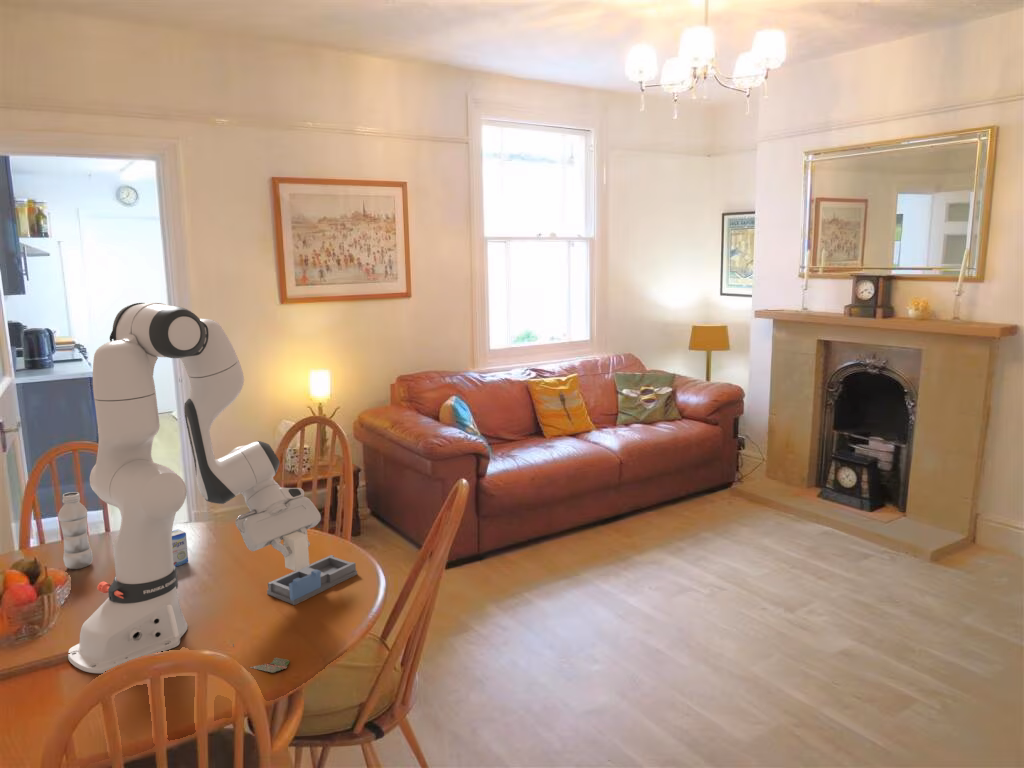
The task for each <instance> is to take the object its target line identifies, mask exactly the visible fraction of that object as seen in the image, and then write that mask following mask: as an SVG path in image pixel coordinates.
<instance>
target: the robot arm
mask: <svg viewBox="0 0 1024 768" xmlns="http://www.w3.org/2000/svg"><path fill="white" fill-rule="evenodd" d="M93 355H94V356H93V363H92V364H93V365H92V389H93V398H94V399H93V400H94V406H95V413H96V414H95V415H96V423H97V430H98V431H97V432H98V445H97V453H96V454H97V455H96V461H95V464H94V466H93V467H92V468H91V471H90V474H89V486H90V488H91V489H92V491H93V492H94V493H95V495H96V496H97V497H98V498H99V499H100V500H101V501H103V502H104V503H105V504H108V505H110V506H113V507H116V508H117V509H118V510H119V512H120V516H121V519H120V520H121V521H120V528H119V532H118V535H117V536H115V539H114V540H113V543H112V553H113V563H114V571H115V576H114V578H113V581H112V583H108V582H106V581H101V582H99V583H98V585H96V589H97V591H99V592H101V593H102V594H107V593H108V597H107V598H106V599H105V601H103V603H101V605H100V606H98V608H97V609H96V610H95V611H94V612H93V613H92V614H91V615H90V616H89V617H88V618H87V619H86V620H85V621H84V622H83V624H82V626H81V627H80V633H79V643H77V644H75V645H73V646H72V647H70V648H69V649H68V652H67V659H68V661H69V662H70V664H72V665H73V666H74V667H75V668H77V669H78V670H81V671H83V672H86V673H90V674H105V673H106V672H105V671H107V670H109V669H111V668H113V667H115V666H117V665H120V664H122V663H125V662H127V661H129V660H132V659H135V658H138V657H141V656H144V655H148V654H152V653H156V652H160V653H162V652H161V651H163V652H166V651H168V650H171V649H174V648H176V647H178V646H179V645H180V644H181V638H182V637H183V636H184V634H185V633H186V632H187V630H188V626H189V625H188V623H187V621H186V619H185V617H184V614H183V610H182V607H181V603H180V599H179V596H178V595H179V594H178V590H177V589H178V587H179V583H178V571H177V567H175V565H174V562H173V549H172V531H173V527H174V521H175V517H176V514H177V513H178V512H179V511H180V509H181V508H182V507H183V505H184V503H185V500H186V498H187V492H188V491H187V486H186V483H185V481H184V479H183V478H182V477H181V476H180V475H179V474H178V473H177V472H175V471H174V470H172V469H171V468H170V467H168V466H166V465H162V464H159V463H156V462H154V461H153V457H152V450H153V449H152V448H153V442H154V438H155V436H156V435H157V434H158V432H159V431H160V427H161V424H160V418H159V409H158V401H157V393H156V385H155V380H154V371H155V370H154V369H155V365H156V363H157V361H158V359H159V358H167V359H168V358H170V359H180V360H181V362H182V363H183V365H184V368H185V371H186V373H187V376H188V378H189V381H190V382H189V383H190V393H189V397H188V399H187V400H186V401H185V402H184V407H183V409H184V410H183V411H184V418H185V425H186V429H187V435H188V439H189V445H190V448H191V453H192V457H193V463H194V468H195V475H196V484H197V489H198V491H199V493H200V495H201V496H202V497H203V498H204V500H205V501H206V502H209V503H213V504H218V505H225V504H226V503H228V502H229V501H231V500H233V498H235V497H236V496H238V495H240V494H241V495H242V496H243V499H244V502H245V504H246V506H247V508H248V509H249V511H247V512H245V513H241V514H240V515H238V516H237V518H236V519H235V521H234V522H235V523H234V524H235V526H236V528H237V530H238V531H239V532H240V534H241V537H242V540H243V542H244V544H245V546H246V548H247V549H248V550H249V551H250V552H256V551H259V550H260V549H263V548H265V547H268V546H270V545H271V546H272V548H273V549H275V550H276V551H278V552H280V553H281V554H282V555H283V558H285V557H287V556H289V555H291V554H292V550H291V549H290V547H289V546H288V547H285V546H284V544H283V543H282V541H283V536H285V535H288V534H290V533H293V532H295V531H298V532H301V533H304V534H307V535H308V530H309V529H312V528H314V527H316V526H317V525H318V524H319V523H320V521H321V519H322V517H321V513H320V511H319V510H318V508H317V507H316V506H315V504H314V503H313V502H312V501H311V499H310V498H308V497H306V496H304V495H305V491H304V489H302V488H301V487H281V486H280V484H279V483H278V482H277V481H276V480H275V479H274V477H275V476H276V474H277V472H278V469H279V467H280V464H281V463H280V459H279V457H278V456H277V455H276V453H275V451H274V449H273V447H271V445H270V444H269V443H266V442H264V441H260V440H256V441H252V442H250V443H248V444H246V445H240V446H237V447H235V448H233V449H232V450H231V451H230V452H228V453H227V454H226V455H223V456H221V457H219V458H216V457H215V453H214V448H213V443H212V442H213V441H212V438H211V428H212V425H213V423H214V421H215V420H216V419H217V418H218V417H219V416H220V415H221V413H222V412H224V411H225V410H226V408H228V407H229V406H230V405H232V404H233V403H234V402H235V400H236V399H237V398H238V397H239V395H240V393H241V391H242V390H243V386H244V382H245V377H244V372H243V369H242V366H241V363H240V360H239V358H238V355H237V352H236V350H235V349H234V346H233V344H232V342H231V340H230V339H229V337H228V335H227V334H226V332H225V330H224V328H223V327H222V325H220V323H219V322H217V321H215V320H214V319H210V318H199V317H198V316H197V315H196V314H195V313H194V312H193V311H191V310H189V309H187V308H184V307H182V306H178V305H169V304H165V303H162V302H147V303H145V302H135V303H132V304H129V305H126V306H125V307H123V308H122V309H121V310H120V311H119V312H118V313H117V314H116V315H115V318H114V320H113V324H112V331H111V333H110V335H109V342H106V343H104V344H102V345H101V346H99V347H98V348H97V349H96V350H95V352H94V354H93ZM310 546H311V542H310V540H308V548H309V547H310ZM68 653H70V654H68ZM104 672H105V673H104Z"/></svg>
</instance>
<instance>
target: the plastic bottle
mask: <svg viewBox="0 0 1024 768" xmlns="http://www.w3.org/2000/svg"><path fill="white" fill-rule="evenodd" d="M80 501H81V497H80V492H76V491H72V492H66V493H63V494H62V503H63V505H62V506H61V508H60V509H59V511H58V513H57V514H58V516H57V517H58V520H59V521H58V522H59V525H60V528H61V532H62V538H63V550H64V551H63V554H62V555H63V559H62V560H63V564H64V566H65V567H66V568H67V569H68V570H69V569H70V570H79V569H82V568H83V569H84V568H86V567H88V566H90V565H91V564H92V562H93V560H94V558H93V556H94V554H93V551H92V548H91V545H90V540H89V537H88V509H87V508H86V507H85V505H83V504H82V503H81V502H80Z"/></svg>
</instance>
